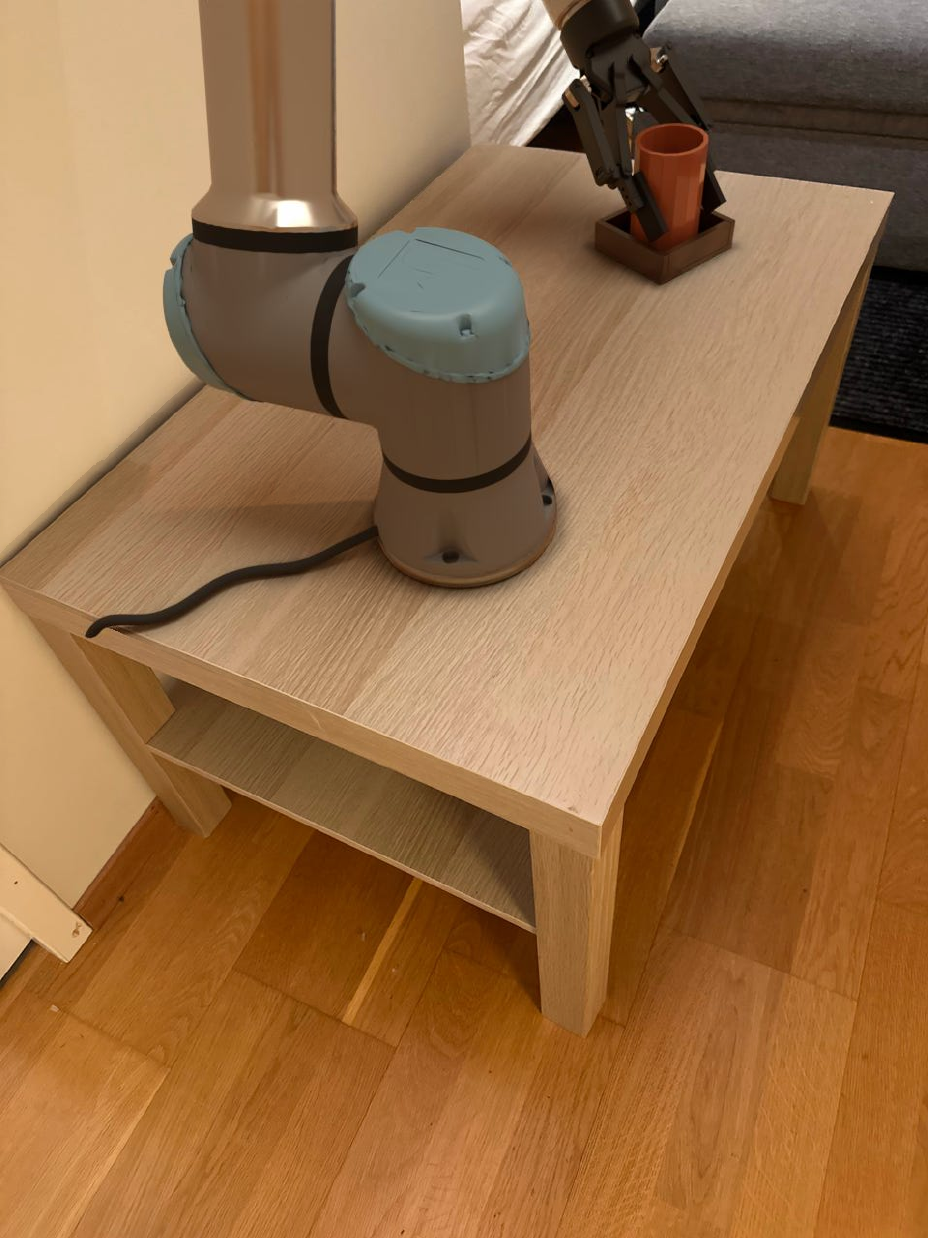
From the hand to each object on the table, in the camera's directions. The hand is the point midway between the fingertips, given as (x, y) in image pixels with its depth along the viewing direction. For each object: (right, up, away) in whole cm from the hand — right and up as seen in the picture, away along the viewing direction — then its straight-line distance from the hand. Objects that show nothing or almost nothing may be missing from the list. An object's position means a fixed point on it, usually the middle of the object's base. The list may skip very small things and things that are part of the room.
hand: (688, 222), depth 94 cm
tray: (-2, -1, +5) cm, 5 cm away
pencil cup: (-2, 0, +5) cm, 5 cm away
